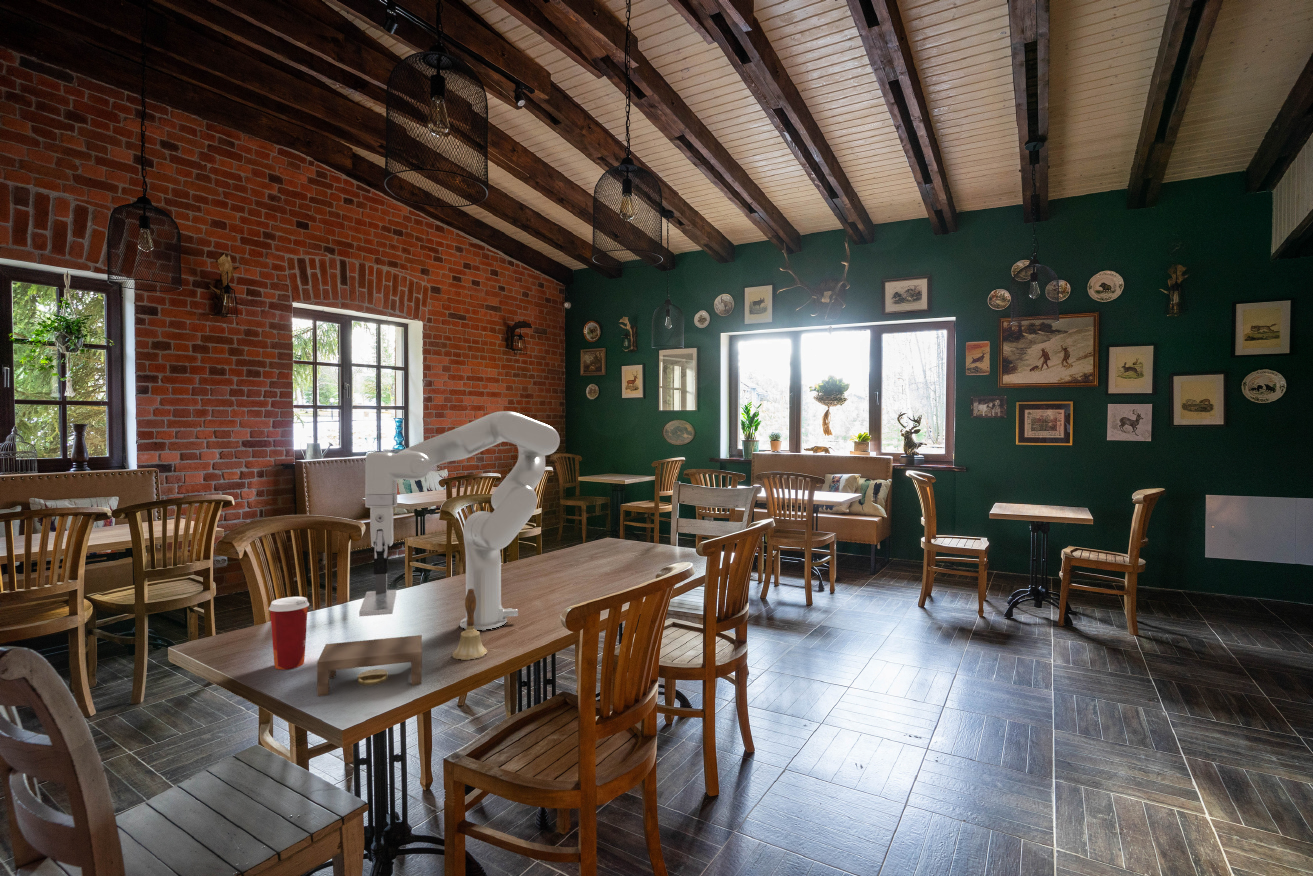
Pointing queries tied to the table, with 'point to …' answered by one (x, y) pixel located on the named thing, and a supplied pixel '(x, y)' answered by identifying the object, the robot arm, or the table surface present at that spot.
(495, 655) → the table surface
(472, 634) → the hand bell
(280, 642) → the coffee cup
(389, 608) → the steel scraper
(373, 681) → the brass puck
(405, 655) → the walnut bench
